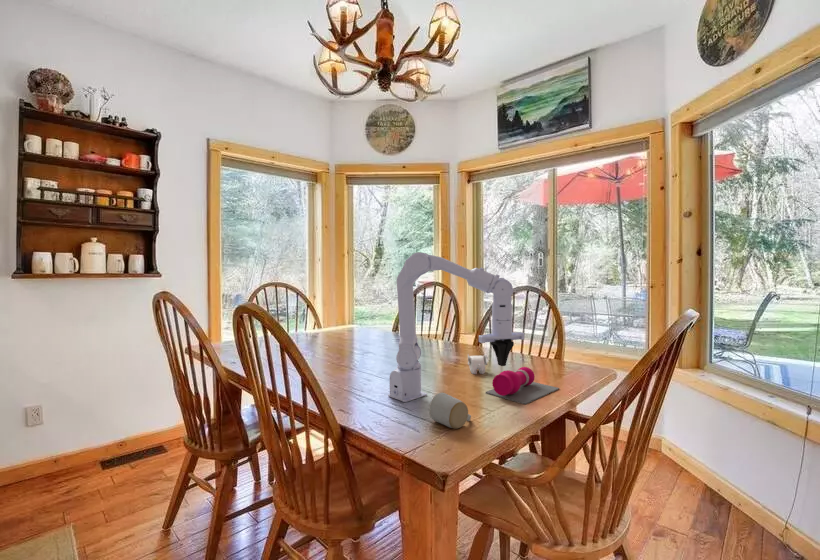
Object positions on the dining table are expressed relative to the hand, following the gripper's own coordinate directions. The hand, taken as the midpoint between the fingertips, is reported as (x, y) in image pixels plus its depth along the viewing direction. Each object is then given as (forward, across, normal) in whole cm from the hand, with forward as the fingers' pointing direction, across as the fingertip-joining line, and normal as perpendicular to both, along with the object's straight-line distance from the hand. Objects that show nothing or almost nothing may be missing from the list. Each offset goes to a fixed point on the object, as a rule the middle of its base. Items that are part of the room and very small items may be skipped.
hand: (501, 365), depth 121 cm
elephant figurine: (+11, -8, -29) cm, 32 cm away
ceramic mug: (+11, +21, +10) cm, 26 cm away
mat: (+10, -11, -4) cm, 15 cm away
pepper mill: (+6, 0, 0) cm, 6 cm away
